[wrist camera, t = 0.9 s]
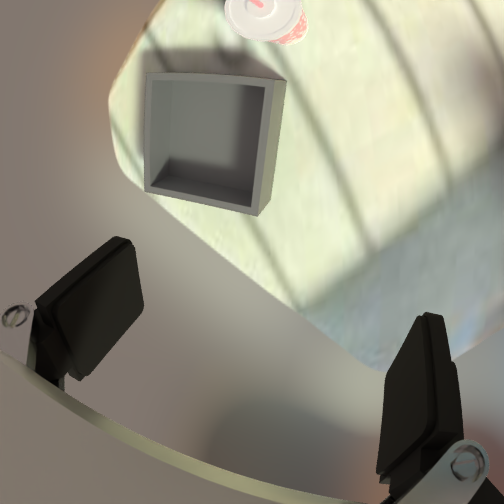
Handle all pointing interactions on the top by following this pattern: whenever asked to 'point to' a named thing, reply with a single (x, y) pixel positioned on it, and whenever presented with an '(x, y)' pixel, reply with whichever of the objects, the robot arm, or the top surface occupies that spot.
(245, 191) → the bin
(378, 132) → the top surface
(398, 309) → the top surface
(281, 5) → the beverage cup
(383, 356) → the top surface
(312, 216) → the top surface
